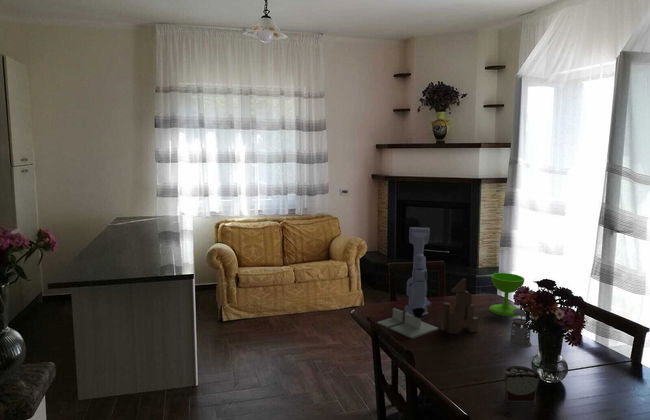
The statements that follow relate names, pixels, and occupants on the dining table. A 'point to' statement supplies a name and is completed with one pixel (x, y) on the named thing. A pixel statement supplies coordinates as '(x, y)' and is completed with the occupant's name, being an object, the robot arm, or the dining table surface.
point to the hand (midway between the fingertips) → (417, 323)
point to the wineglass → (507, 285)
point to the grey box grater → (520, 331)
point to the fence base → (399, 315)
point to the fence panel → (413, 320)
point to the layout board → (407, 328)
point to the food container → (520, 384)
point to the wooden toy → (459, 311)
